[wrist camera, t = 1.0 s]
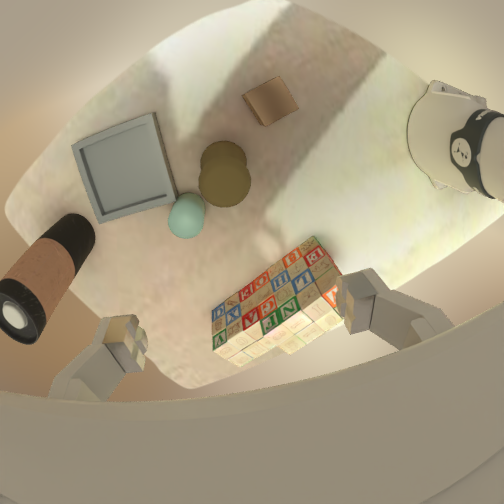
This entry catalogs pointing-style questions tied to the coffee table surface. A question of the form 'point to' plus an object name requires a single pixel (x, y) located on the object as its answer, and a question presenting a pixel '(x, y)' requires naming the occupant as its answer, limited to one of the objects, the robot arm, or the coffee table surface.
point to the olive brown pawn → (224, 174)
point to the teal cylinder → (187, 216)
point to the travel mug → (43, 277)
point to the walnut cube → (270, 101)
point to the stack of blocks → (279, 307)
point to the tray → (125, 169)
